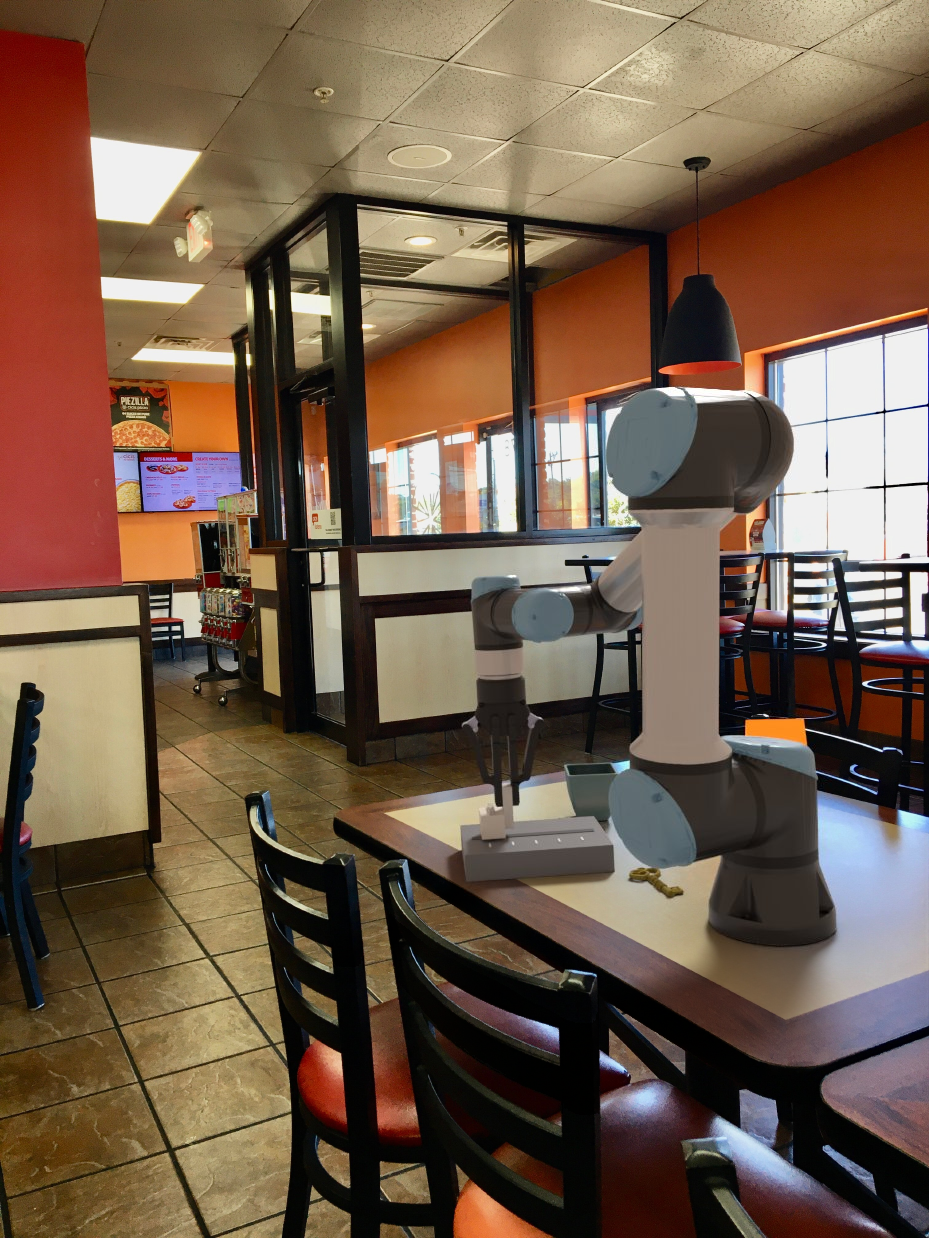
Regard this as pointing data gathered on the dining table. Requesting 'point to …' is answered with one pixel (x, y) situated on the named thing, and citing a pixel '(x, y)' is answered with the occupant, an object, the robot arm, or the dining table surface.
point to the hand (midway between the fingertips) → (508, 826)
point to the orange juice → (778, 729)
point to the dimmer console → (538, 850)
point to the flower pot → (590, 788)
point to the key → (655, 880)
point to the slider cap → (492, 822)
